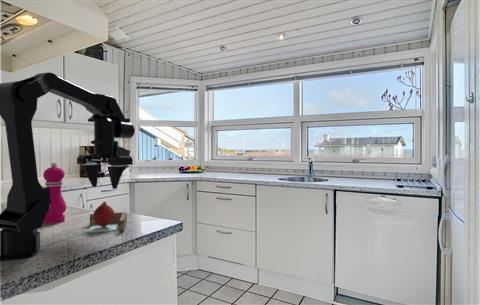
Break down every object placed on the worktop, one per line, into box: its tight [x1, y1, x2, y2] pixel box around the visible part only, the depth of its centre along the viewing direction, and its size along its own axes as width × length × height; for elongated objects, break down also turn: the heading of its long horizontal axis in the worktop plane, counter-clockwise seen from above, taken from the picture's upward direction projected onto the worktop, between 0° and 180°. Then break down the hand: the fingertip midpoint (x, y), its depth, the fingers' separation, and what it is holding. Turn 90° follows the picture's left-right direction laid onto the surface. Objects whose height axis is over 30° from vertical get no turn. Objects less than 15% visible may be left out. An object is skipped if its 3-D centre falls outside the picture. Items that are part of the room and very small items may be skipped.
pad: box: [87, 223, 119, 234], centre depth 88 cm, size 8×8×1 cm
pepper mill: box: [42, 162, 67, 225], centre depth 96 cm, size 7×7×20 cm
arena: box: [89, 211, 128, 233], centre depth 88 cm, size 11×12×4 cm
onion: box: [92, 201, 115, 227], centre depth 88 cm, size 6×6×8 cm
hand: (104, 187), depth 88 cm, fingers open, 9 cm apart
